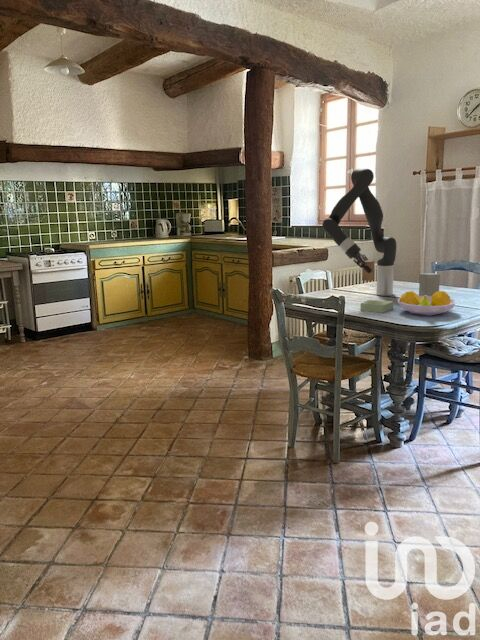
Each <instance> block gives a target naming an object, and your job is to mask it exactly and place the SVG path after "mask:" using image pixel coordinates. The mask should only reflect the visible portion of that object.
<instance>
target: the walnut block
mask: <svg viewBox="0 0 480 640" xmlns="http://www.w3.org/2000/svg"><path fill="white" fill-rule="evenodd" d="M375 262H376V261H375V260H369V261H365V263H366V265H367V266H368V267H369V268H370V269H371V270H372V271H371V272H370V273H368V272H367V271H366V270H365V269H363V268H361V272H362V273H361V281H364V282H372V281H374V280H375V270H374V269H375Z"/></svg>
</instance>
